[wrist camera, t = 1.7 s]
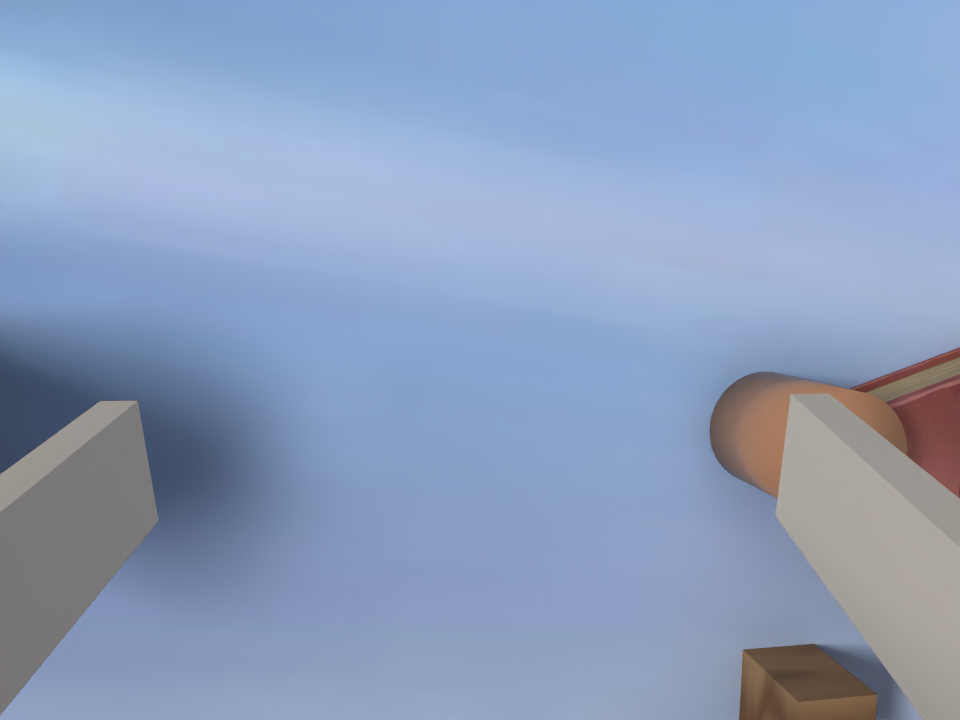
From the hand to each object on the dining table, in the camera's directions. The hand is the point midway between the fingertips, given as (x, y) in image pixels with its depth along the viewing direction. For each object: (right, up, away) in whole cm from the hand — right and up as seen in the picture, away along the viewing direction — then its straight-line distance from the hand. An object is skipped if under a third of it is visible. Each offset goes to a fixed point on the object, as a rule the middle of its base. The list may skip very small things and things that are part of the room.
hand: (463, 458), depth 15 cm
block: (+20, -19, +33) cm, 43 cm away
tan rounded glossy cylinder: (+18, -2, +31) cm, 36 cm away
